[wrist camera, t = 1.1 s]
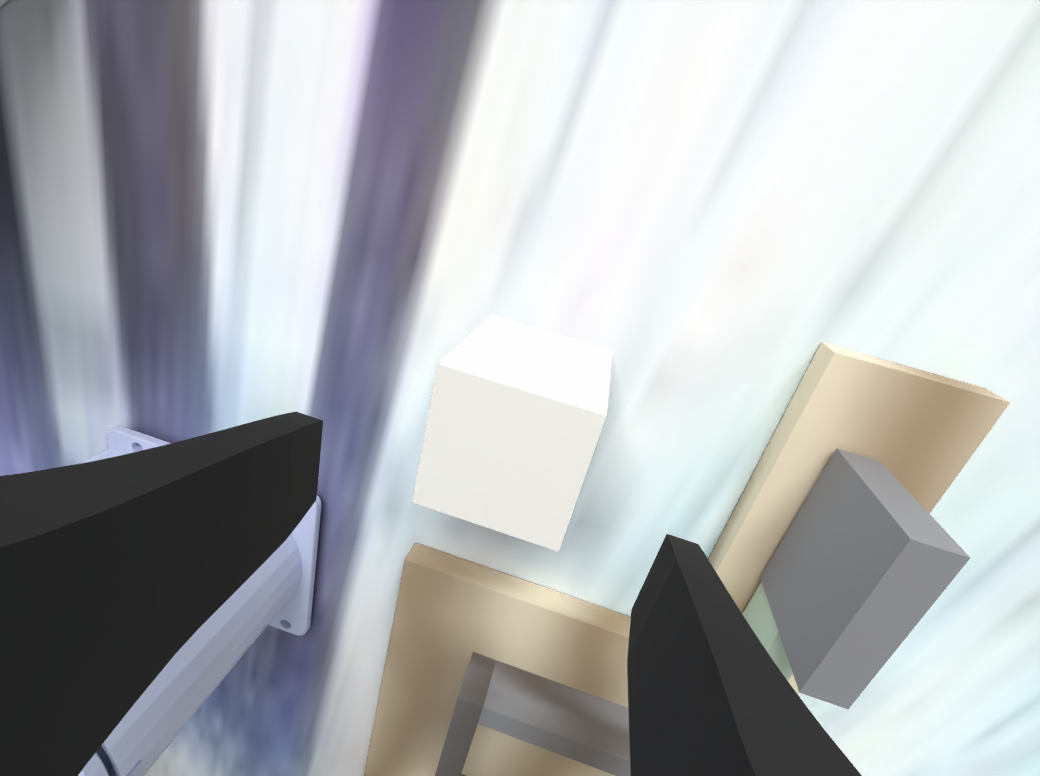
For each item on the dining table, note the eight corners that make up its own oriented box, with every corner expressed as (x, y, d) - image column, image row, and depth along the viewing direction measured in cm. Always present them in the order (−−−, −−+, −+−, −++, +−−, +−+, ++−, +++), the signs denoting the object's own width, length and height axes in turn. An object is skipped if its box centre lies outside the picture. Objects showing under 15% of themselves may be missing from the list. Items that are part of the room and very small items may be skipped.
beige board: (366, 791, 27) (336, 858, 24) (473, 243, 15) (439, 255, 12) (631, 896, 26) (632, 980, 23) (984, 388, 14) (1073, 437, 11)
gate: (662, 743, 20) (669, 869, 16) (837, 448, 14) (911, 539, 10) (691, 754, 19) (706, 884, 16) (880, 461, 14) (970, 557, 10)
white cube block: (467, 421, 17) (411, 502, 13) (491, 314, 16) (437, 363, 11) (576, 455, 17) (558, 551, 13) (612, 349, 16) (606, 416, 11)
